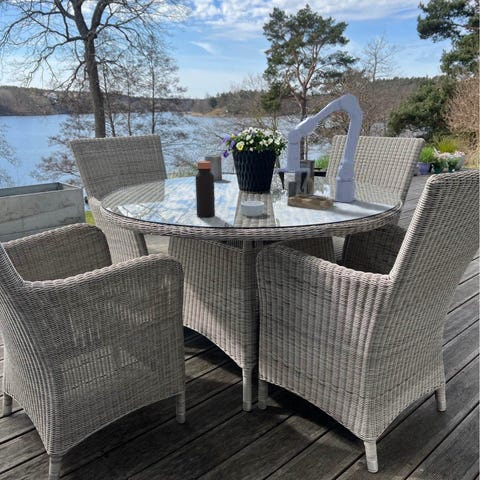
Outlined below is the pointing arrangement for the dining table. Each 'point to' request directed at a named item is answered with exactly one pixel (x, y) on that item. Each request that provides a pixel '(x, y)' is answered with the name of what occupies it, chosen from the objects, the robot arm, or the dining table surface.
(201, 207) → the bottle
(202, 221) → the dining table surface
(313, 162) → the coffee box
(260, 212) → the ramekin
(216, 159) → the pillar candle
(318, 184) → the dining table surface
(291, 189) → the grey rounded cylinder
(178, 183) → the dining table surface
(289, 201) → the socket block
